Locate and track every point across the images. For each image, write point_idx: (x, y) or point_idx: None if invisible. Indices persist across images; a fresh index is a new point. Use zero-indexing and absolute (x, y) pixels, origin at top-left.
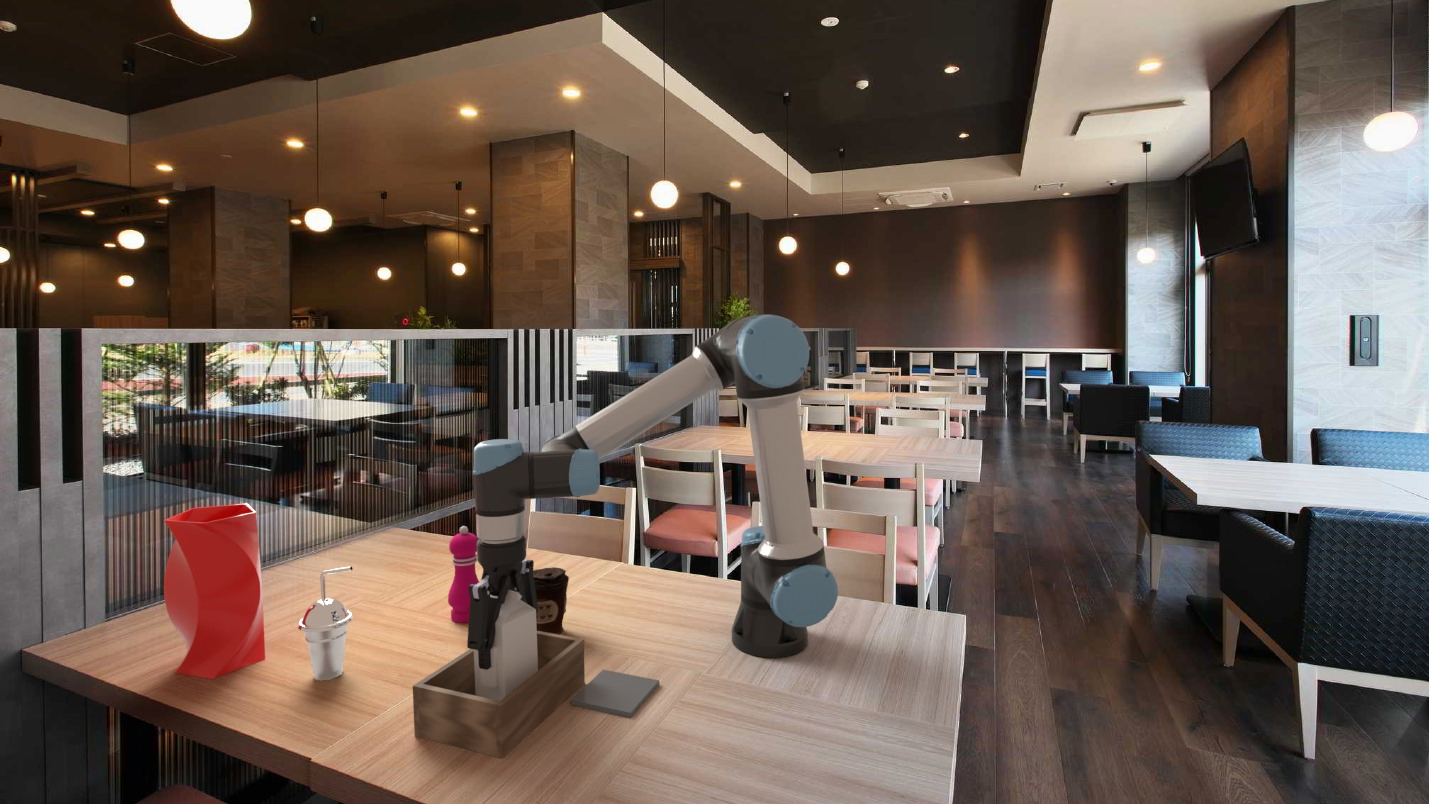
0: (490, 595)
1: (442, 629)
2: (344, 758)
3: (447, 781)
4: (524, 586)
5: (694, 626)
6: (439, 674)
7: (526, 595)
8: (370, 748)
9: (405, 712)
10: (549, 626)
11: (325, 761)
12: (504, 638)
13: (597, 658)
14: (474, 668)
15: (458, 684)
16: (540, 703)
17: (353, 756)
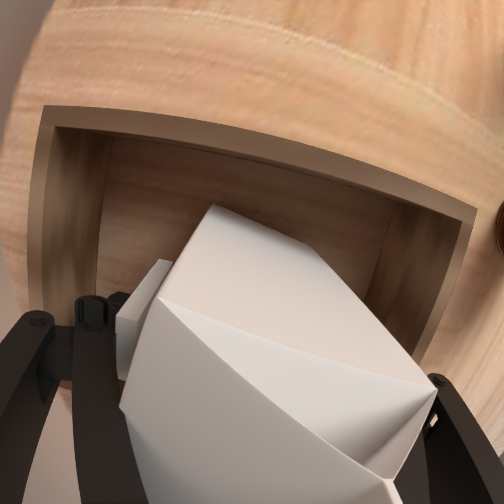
0: (303, 498)
1: (494, 24)
2: (42, 56)
3: (21, 262)
4: (455, 499)
5: (477, 418)
6: (121, 132)
7: (438, 464)
8: (66, 72)
9: (187, 48)
10: None
11: (38, 37)
12: None
13: (428, 352)
14: (203, 217)
15: (217, 151)
16: None
17: (46, 64)
